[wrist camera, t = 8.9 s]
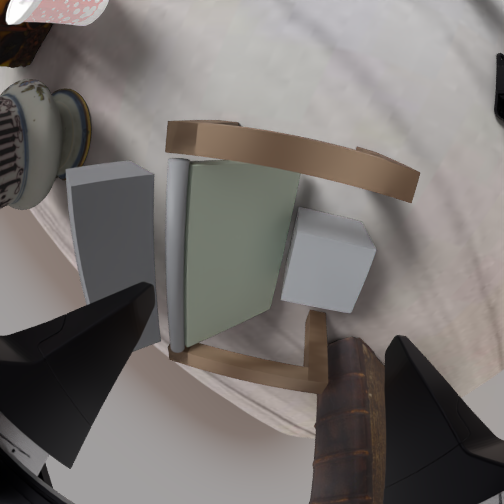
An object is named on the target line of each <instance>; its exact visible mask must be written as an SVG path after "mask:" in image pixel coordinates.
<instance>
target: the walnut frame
mask: <svg viewBox="0 0 504 504" xmlns="http://www.w3.org/2000/svg"><path fill="white" fill-rule="evenodd" d="M238 125H239V123H238V122H230V121H221V120H185V121H168V126H167V137H166V149H165V152H167V153H177V154H186V155H195V156H203V157H210V158H218V159H224V160H231V161H238V162H244V163H250V164H255V165H261V166H267V167H272V168H277V169H282V170H287V171H292V172H297V173H301V174H306V175H310V176H315V177H319V178H323V179H328V180H332V181H336V182H340V183H344V184H347V185H351V186H355V187H359V188H362V189H366V190H369V191H373V192H376V193H380V194H383V195H387V196H390V197H393V198H396V199H399V200H403V201H406V202H409V203H412V200H413V197H414V193H415V190H416V186H417V183H418V179H419V176H420V172H418V171H416V170H414V169H412V168H410V167H408V166H406V165H404V164H402V163H399V162H397V161H395V160H393V159H391V158H388V157H386V156H384V155H381V154H379V153H377V152H373V151H370V150H367V149H363V148H360V147H357V148H356V150H353V149H350V148H346V147H342V146H338V145H335V144H330V143H326V142H322V141H318V140H313V139H309V138H304V137H300V136H295V135H290V134H284V133H279V132H273V131H267V130H261V129H255V128H248V127H240V126H238ZM168 351H169V359H170V360H172V361H175V362H179V363H182V364H185V365H188V366H191V367H195V368H198V369H202V370H205V371H209V372H212V373H216V374H220V375H224V376H227V377H231V378H236V379H240V380H244V381H248V382H253V383H258V384H262V385H267V386H272V387H278V388H283V389H289V390H295V391H301V392H308V393H315V394H322V392H323V391H324V389H325V388H326V386H327V385H328V353H327V330H326V313H324V312H319V311H314V310H310V311H309V314H308V316H307V319H306V324H305V348H304V367H302V366H296V365H291V364H285V363H280V362H275V361H270V360H265V359H261V358H256V357H252V356H247V355H243V354H239V353H235V352H231V351H227V350H223V349H219V348H215V347H211V346H208V345H204V344H200V343H197V344H194V345H192V346H190V347H186V345H185V349H184V350H183V351H182V352H180V353H176V352H173V351H172V350H171V347H170V344H169V346H168Z"/></svg>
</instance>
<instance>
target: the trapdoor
mask: <svg viewBox="0 0 504 504" xmlns="http://www.w3.org/2000/svg"><path fill="white" fill-rule="evenodd" d="M300 174H301V173H297V172H292V171H287V170H282V169H277V168H272V167H267V166H261V165H255V164H250V163H244V162H238V161H231V160H209V161H190V160H188V159H183V158H172V159H168V172H167V192H166V288H167V308H168V323H169V336H170V347H171V350H172V351H173V352H176V353H180V352H182V351H183V350H184V349H185V345H186V347H190V346H192V345H194V344H197V343H199V342H201V341H203V340H206V339H208V338H210V337H212V336H214V335H217V334H219V333H221V332H223V331H225V330H227V329H230V328H232V327H234V326H236V325H238V324H240V323H242V322H244V321H246V320H248V319H250V318H253V317H255V316H257V315H259V314H261V313H263V312H265V311H267V310H269V309H270V307H271V303H272V299H273V295H274V291H275V287H276V283H277V278H278V274H279V270H280V266H281V261H282V257H283V253H284V248H285V244H286V240H287V235H288V231H289V226H290V221H291V217H292V212H293V208H294V203H295V198H296V193H297V189H298V184H299V179H300ZM66 185H67V198H68V208H69V217H70V225H71V232H72V239H73V245H74V251H75V256H76V261H77V266H78V271H79V276H80V280H81V284H82V288H83V293H84V296H85V300H86V304H87V305H88V304H90V303H93V302H95V301H97V300H100V299H102V298H104V297H107V296H109V295H111V294H114V293H116V292H119V291H121V290H123V289H126V288H128V287H130V286H133V285H135V284H138V283H140V282H143V281H144V282H148V283H152V284H153V285H154V291H155V307H154V309H153V311H152V313H151V316H150V318H149V320H148V322H147V324H146V327H145V329H144V331H143V333H142V335H141V338H140V340H139V341H138V343H137V345H136V347H135V348H134V350H133V351H136V350H139V349H141V348H144V347H147V346H149V345H152V344H155V343H157V342H160V341H161V337H160V329H159V319H158V308H157V296H156V282H155V263H154V225H153V209H154V174H153V173H151V172H150V171H148V170H146V169H144V168H143V167H141V166H139V165H137V164H136V163H134V162H132V161H130V160H129V161H119V162H111V163H103V164H96V165H89V166H82V167H76V168H70V169H66Z"/></svg>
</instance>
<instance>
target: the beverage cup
mask: <svg viewBox="0 0 504 504" xmlns="http://www.w3.org/2000/svg"><path fill="white" fill-rule="evenodd" d="M108 1H109V0H11V1H10V3H9V6H8V9H7V12H6V22H7V23H8V25H12V24H21V23H22V22H46V23H59V24H69V25H78V26H86V25H88V24H91V23H92V22H93V21H95V20H96V19H97V18H98V17H99V16H100V15H101V14H102V13H103V11H104V10H105V8H106V6H107V4H108Z"/></svg>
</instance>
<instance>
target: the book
mask: <svg viewBox="0 0 504 504" xmlns="http://www.w3.org/2000/svg"><path fill="white" fill-rule="evenodd" d="M327 353H328V385H327V386H326V388H325V389H324V391H323V392H322V394H317V415H316V423H315V425H314V427H315V429H316V438H315V453H314V461H313V481H312V491H311V498H310V502H309V504H383V497H384V488H385V487H384V486H385V468H386V415H385V395H384V380H385V366H384V365H383V364H382V363H381V362H380V361H379V359H378V358H377V357H376V356H375V354H374V352H373V351H372V350H371V348H370V347H369V346H368V345H367V344H366V343H365V342H364V341H362V340H361V339H360V338H354V337H348V338H344V339H341V340H338V341H336V342H333V343H331V344H329V345H327Z"/></svg>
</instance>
